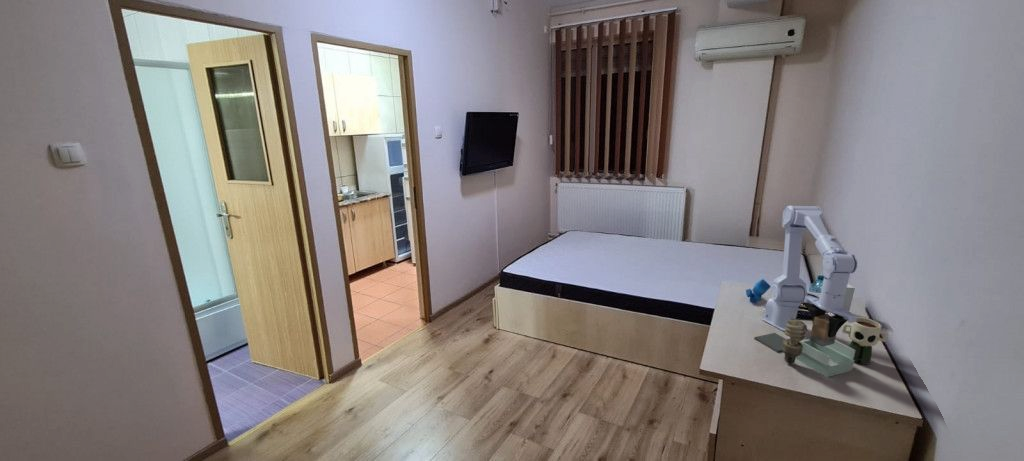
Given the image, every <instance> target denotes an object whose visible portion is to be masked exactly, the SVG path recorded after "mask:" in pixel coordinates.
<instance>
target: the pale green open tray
mask: <svg viewBox="0 0 1024 461" xmlns="http://www.w3.org/2000/svg"><path fill="white" fill-rule="evenodd" d="M799 342H800V343H801V344H802V345H803V349H802V352H801V354H800V355H799V356H797V357H796V358H795V360H798V361H799V362H801V363H802V364H804V365H805V366H808V367H809V368H810V369H813V370H815V371H816V372H818V373H820V374H821V375H823V376H824V377H826V378H829V377H832V376H836V375H840V374H844V373H848V372H850V371H853V368H854V363H855V362H854V360H853V358H854V354H855V350H854V349H852V348H850V347H849V345H846V344H844V343H842V342H840V341H838V340H837V339H835V342H834V344H831V345H827V346H823V347H822V346H820V345H818V344H816V343H814V342H812V341H810V338H808V339H803V340H802V341H799ZM830 359H831V360H830ZM829 361H832V362H833V361H834V363H832V364H829ZM835 362H836V363H835Z"/></svg>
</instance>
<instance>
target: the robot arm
mask: <svg viewBox="0 0 1024 461" xmlns="http://www.w3.org/2000/svg"><path fill="white" fill-rule="evenodd" d="M823 218H824V212H823V210H822V208H821V207H820V206H818V205H815V206H812V205H811V206H809V205H807V206H806V205H805V206H804V205H791V204H790V205H787V206H786V207H785V209H784V210H783V212H782V219H781V222H782V224H781V225H782V226H781V227H782V228H783V229H784V230H785V235H784V247H783V248H784V250H783V261H782V262H783V263H782V274H781V275H780V276H778V277H776V278H774V279H773V280H772V286H771V287H770V295H771V297H770V298H768V300H767V302H766V304H765V310H764V314H763V315H764V316H763V317H762V319H761V320H762V321H763V322H765V323H768V324H769V325H771V326H774V327H775V328H777V329H778V330H781V331H783V332H785V331H786V330H785V327H786V323H787V322H789V319H791V318H792V319H797V317H798V310H799V308H800V307H799V306H801V303H804V302H806V303H810V304H812V306H811V307H809V308H808V309H807V310H808V313H809V315H810V316H811V321H812V322H811V323H813V322H814V317H816V316H821V315H825V314H826V313H827V312H828V313H831V314H833V315H829V331H828V337H830V338H831V337H835V335H836V336H837V333H838V332H839V330H840V329H841V328H842V327H843V324H845V323H846V324H847V322H848V323H849V324H851V323H853V322H856V320H857V317H858V315H857V314H854V313H852V312H851V311H848V310H846V309H845V308H843V307H842V305H843V301H844V297H845V293H846V288H847V284H849V280H850V276H851V275H850V274H854V273H855V272H856V270H857V269H858V260H857V258H856V256H855V255H856V254H854V253H852V252H851V253H850V252H849V251H846V250H845V249H844V247H843V246H842V244H841V243H840V241H839V240H838V238H837V237H836V236H835V235H833V234H829V232H828V230H827V229H828V228H827V227H826V225H825V224H824V222H823ZM806 230H808V231H809V232H810V233H811V234H812V235H813V237H814V238H815V240H816V241H815V242H814V245H815V248H816V249H817V251H818V252H819V254H820V255H821V257H822V258H823V259H822V267H823V268H822V276H823V281H822V284H821V289H820V290H821V291H820V295H819V298H815V297H812V296H810V295H809V296H807V293H808V290H807V283H806V281H804V280H803V278H800V273H801V272H800V270H801V260H802V257H801V256H802V247H803V246H802V245H803V244H802V243H803V233H804V232H806ZM834 314H835V315H834Z"/></svg>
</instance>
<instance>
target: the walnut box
mask: <svg viewBox="0 0 1024 461" xmlns="http://www.w3.org/2000/svg"><path fill="white" fill-rule="evenodd" d="M829 316H830V315H829V314H826V313H825V315H821V316H816V317H814V322H812V327H811V331H810V336H809V339H810V341H812V342H814V343H816V344H818V345H820V346H822V347H823V346H827V345H831V344H834V342H835V340H836V337H837V334H836V335H835V337H831V338H830V337H828V331H829Z"/></svg>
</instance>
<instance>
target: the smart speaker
mask: <svg viewBox="0 0 1024 461" xmlns="http://www.w3.org/2000/svg"><path fill="white" fill-rule="evenodd" d="M809 295H810V296H812V297H815V298H820V296H817V295H815V294H814V293H813V294H812V293H808V292H807V296H809ZM801 304H803V305H805V306H806V307H807V308H809V307H811V306H812V304H810V303H806V302H804V303H801Z"/></svg>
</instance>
